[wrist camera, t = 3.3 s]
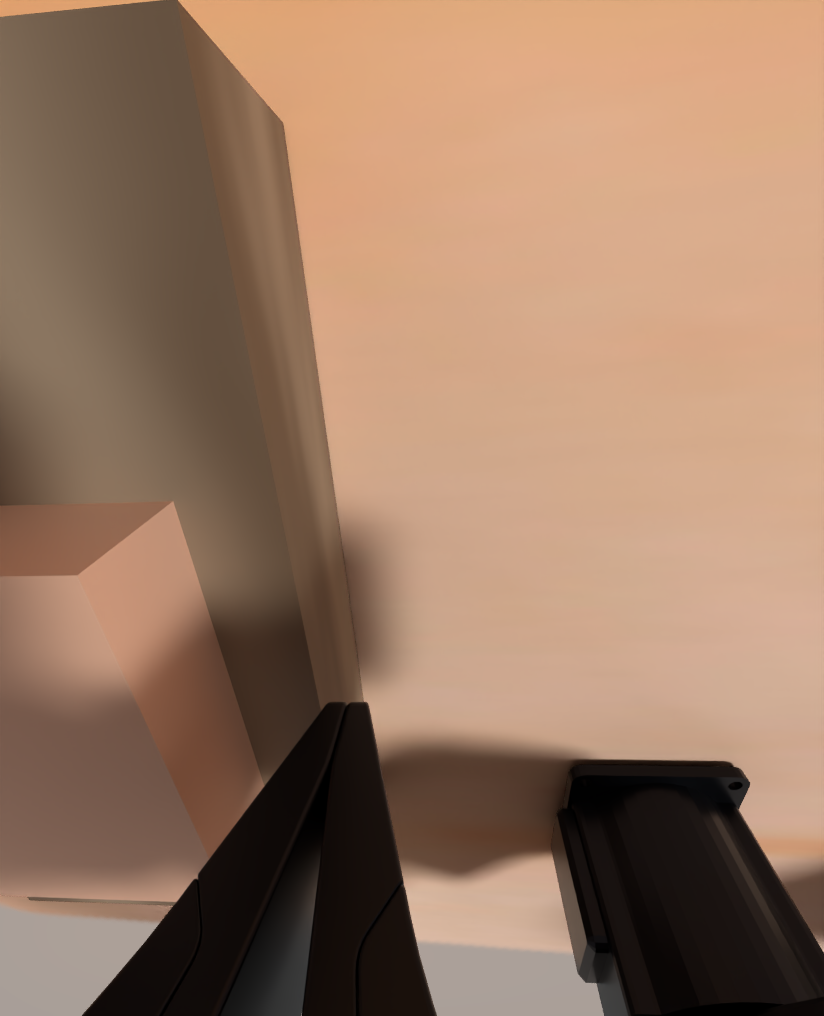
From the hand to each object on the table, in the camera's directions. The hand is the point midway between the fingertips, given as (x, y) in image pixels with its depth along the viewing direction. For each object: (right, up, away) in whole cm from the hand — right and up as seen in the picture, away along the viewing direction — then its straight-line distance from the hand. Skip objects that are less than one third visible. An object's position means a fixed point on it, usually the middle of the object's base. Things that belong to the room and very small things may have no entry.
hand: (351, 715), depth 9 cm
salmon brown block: (-6, 0, +1) cm, 6 cm away
